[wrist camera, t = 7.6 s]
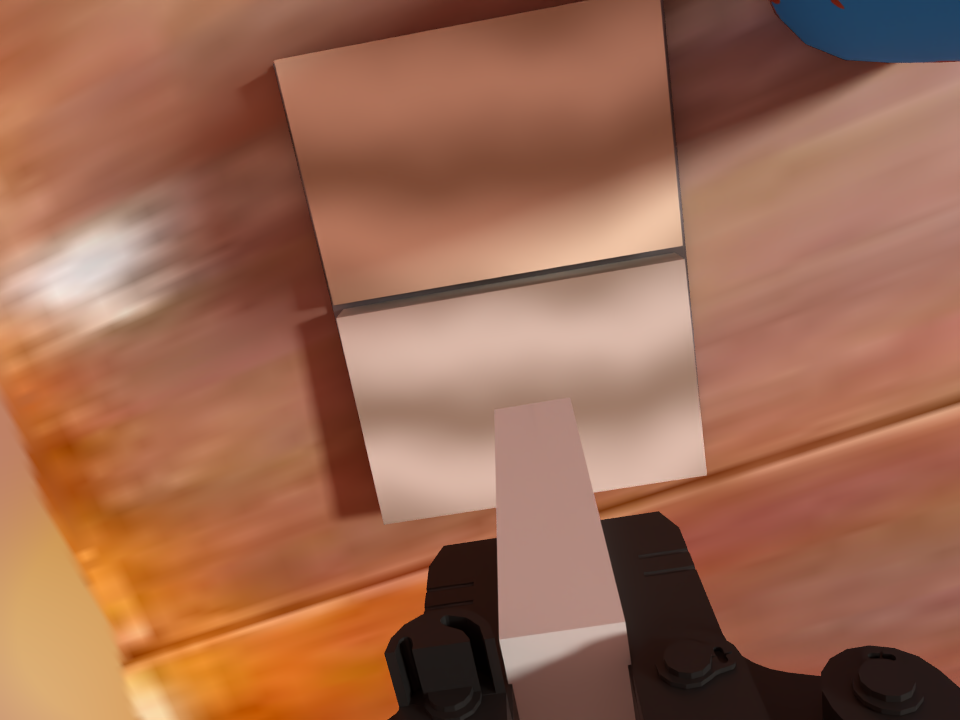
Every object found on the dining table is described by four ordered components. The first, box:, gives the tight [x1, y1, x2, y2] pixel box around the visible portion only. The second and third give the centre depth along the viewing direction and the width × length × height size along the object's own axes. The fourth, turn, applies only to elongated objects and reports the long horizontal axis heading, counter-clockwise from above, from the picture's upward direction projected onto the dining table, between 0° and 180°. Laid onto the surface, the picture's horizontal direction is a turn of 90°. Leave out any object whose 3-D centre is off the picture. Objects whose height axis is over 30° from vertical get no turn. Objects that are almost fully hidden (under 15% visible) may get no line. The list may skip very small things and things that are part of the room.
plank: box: [336, 253, 707, 525], centre depth 36 cm, size 10×15×2 cm, turn 100°
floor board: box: [273, 0, 701, 412], centre depth 35 cm, size 21×16×2 cm
